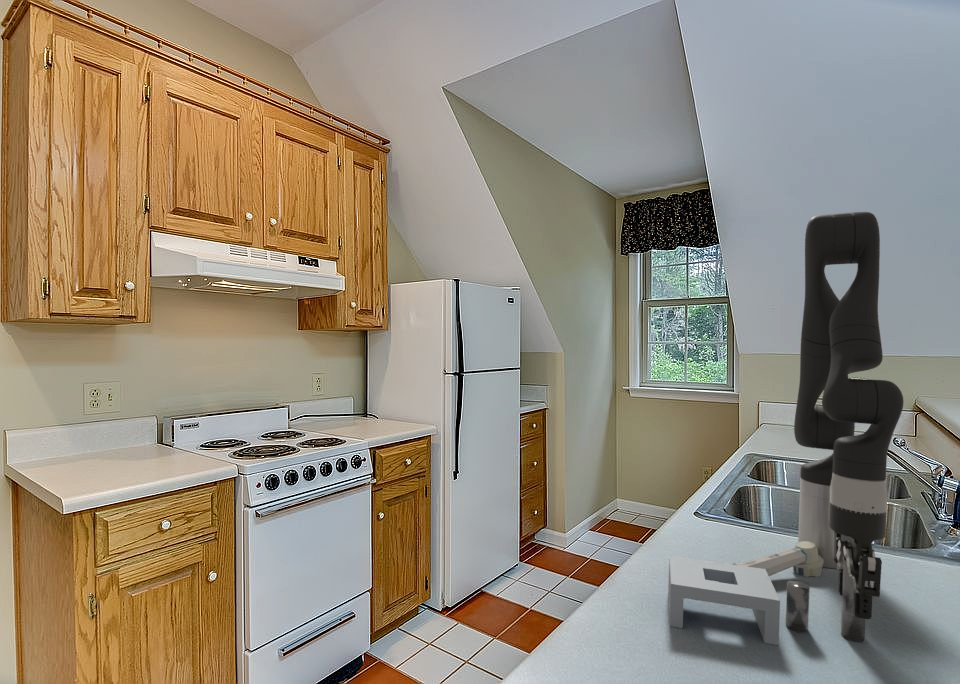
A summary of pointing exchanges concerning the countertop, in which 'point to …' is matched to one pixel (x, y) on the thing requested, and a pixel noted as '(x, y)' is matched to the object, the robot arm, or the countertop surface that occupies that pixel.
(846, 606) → the tall pin
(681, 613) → the bridge
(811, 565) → the beige toy mallet
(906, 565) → the countertop surface
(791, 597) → the short pin
